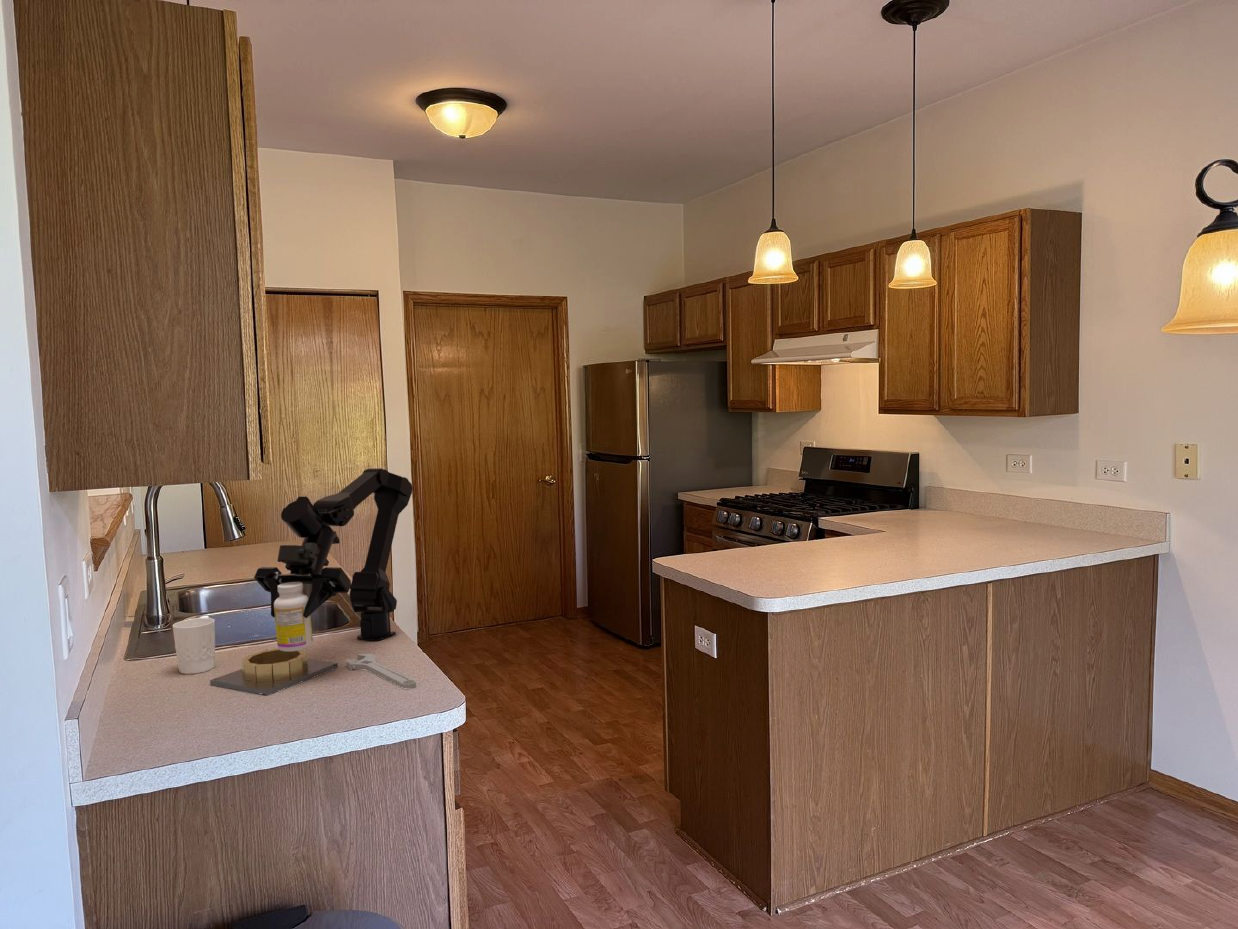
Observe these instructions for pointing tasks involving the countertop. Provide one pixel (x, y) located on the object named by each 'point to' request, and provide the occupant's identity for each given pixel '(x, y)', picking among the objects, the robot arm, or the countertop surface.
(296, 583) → the supplement bottle
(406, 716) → the countertop surface
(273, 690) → the ring collar
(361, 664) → the adjustable wrench
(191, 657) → the white cup
